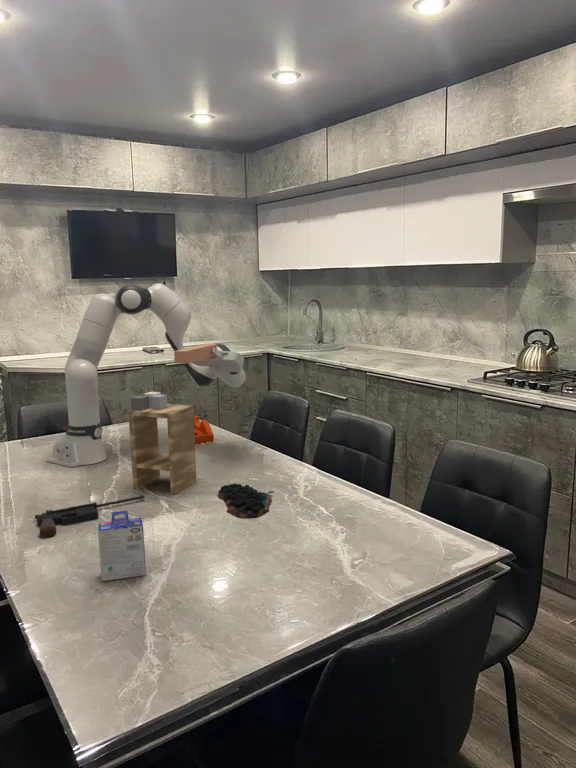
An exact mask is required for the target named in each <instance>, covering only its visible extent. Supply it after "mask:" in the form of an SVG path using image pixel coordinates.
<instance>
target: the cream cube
mask: <svg viewBox="0 0 576 768" xmlns="http://www.w3.org/2000/svg"><path fill="white" fill-rule="evenodd" d="M156 394H160V395H162V392H161V391H160V392H159V391H149V392H146V393H143V396H152V395H156ZM149 406H150V401H149Z"/></svg>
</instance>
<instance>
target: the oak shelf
mask: <svg viewBox="0 0 576 768" xmlns="http://www.w3.org/2000/svg"><path fill="white" fill-rule="evenodd" d="M127 412H128V426H129V427H128V428H129V443H130V445H129V446H130V458H131V459H130V461H131V473H132V474H131V475H132V476H131V477H132V489H133V490H137V489H138V490H139V488H140V489H142V488H144V487H145V486H147V485H149V484H150V483H153V482H154V481H156V480H158V479H160V478H161V471H163V472H169V479H170V481H169V482H170V494H171V495H178V494H180V493H181V492H182V491H184V490H186V489H187V488H188V487H190V486H192V485H194V484H195V483H197V464H196V463H197V459H196V445H195V433H194V416H195V414H194V412H195V411H194V405H191V404H174V403H172V404H171V403H167V407H166V408H163V409H161V410H160V409H150V406H149V409H146V410H143V411H137V410H132V409H129V410H128V411H127ZM159 418H160V419H167V420H166V422H167V424H166V425H167V441H168V453H162V452H160V449H159V448H160V445H159V431H158V430H159V428H158V419H159ZM159 477H160V478H159ZM141 487H142V488H141Z"/></svg>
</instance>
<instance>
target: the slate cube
mask: <svg viewBox="0 0 576 768" xmlns="http://www.w3.org/2000/svg"><path fill="white" fill-rule="evenodd" d="M149 401H150V409H160V410H161V409H163V408H166V407H167V404H168V395H167V394H161V395H160V394H156V395H152V396H149Z"/></svg>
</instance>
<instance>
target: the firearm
mask: <svg viewBox="0 0 576 768" xmlns="http://www.w3.org/2000/svg"><path fill="white" fill-rule="evenodd" d="M145 498H146V496H145V495H144V494H141V495H139V496H135V497H131V498H124V499H120V500H114V501H108V502H104V503H100V504H98V503H97V502H96V501H95V502H91V503H86V504H82V505H76V506H75V505H74V506H70V507H67V508H60V509H55V510H53V509H50V510H49V509H46V510H45V512H42V513H41V514H40V513H39V514H35V515H34V518H35V520H36V522H37V527H39V537H40V538H42V539H50V538H53V537H55V536H56V535H57V526H56V525H63V526H68V525H74V524H81V523H84V522H89V521H95V520H99V511H98V508H102V507H106V506H112V505H116V504H121V503H126V502H128V503H129V502H132V501H137V500H141V499H142V500H143V499H145Z"/></svg>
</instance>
